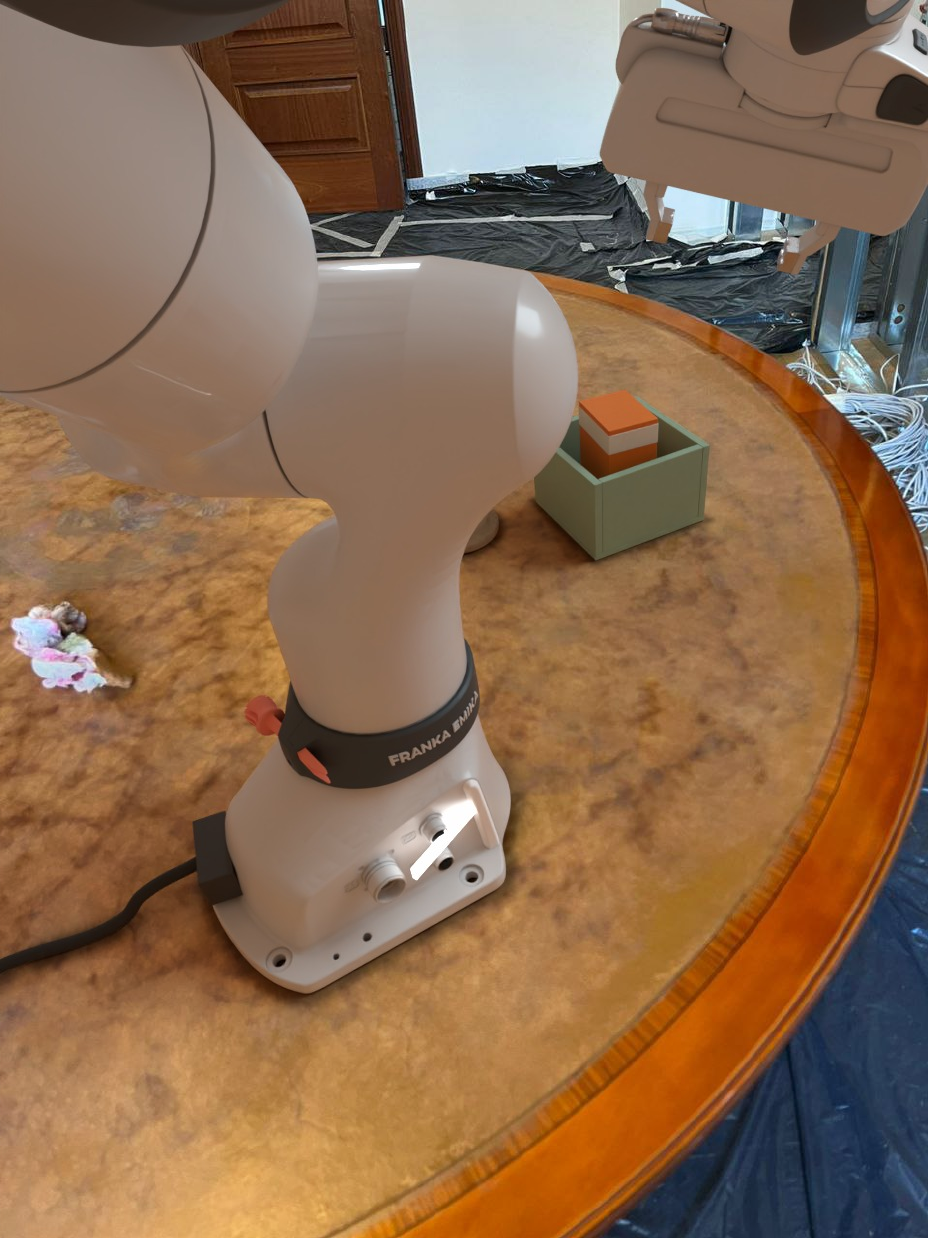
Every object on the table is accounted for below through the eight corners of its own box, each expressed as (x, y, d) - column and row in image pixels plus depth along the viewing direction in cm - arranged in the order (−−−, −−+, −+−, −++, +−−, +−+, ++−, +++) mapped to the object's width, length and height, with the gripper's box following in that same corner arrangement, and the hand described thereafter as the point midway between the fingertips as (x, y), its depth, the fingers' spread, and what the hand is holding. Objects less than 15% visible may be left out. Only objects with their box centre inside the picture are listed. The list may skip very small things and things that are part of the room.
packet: (608, 529, 86) (608, 431, 79) (580, 495, 91) (577, 400, 84) (655, 516, 87) (658, 418, 80) (624, 483, 92) (625, 388, 85)
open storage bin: (595, 560, 83) (594, 485, 78) (535, 501, 92) (530, 430, 87) (703, 520, 86) (710, 444, 81) (635, 466, 95) (636, 395, 90)
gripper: (622, 26, 47) (571, 245, 59) (987, 109, 47) (861, 314, 59) (636, -25, 51) (585, 193, 62) (978, 52, 50) (860, 257, 62)
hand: (721, 252), depth 61 cm, fingers open, 8 cm apart
